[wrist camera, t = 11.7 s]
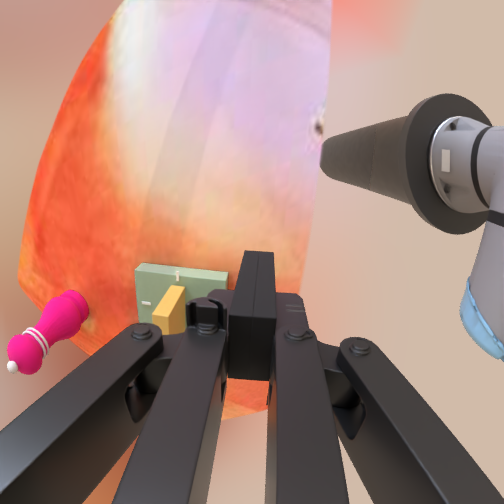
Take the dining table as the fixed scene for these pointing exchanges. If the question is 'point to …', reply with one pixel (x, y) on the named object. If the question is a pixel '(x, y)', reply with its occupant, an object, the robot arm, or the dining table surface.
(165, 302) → the handle
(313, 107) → the dining table surface
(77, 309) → the pepper mill
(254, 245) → the dining table surface
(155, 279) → the plate
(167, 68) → the dining table surface
